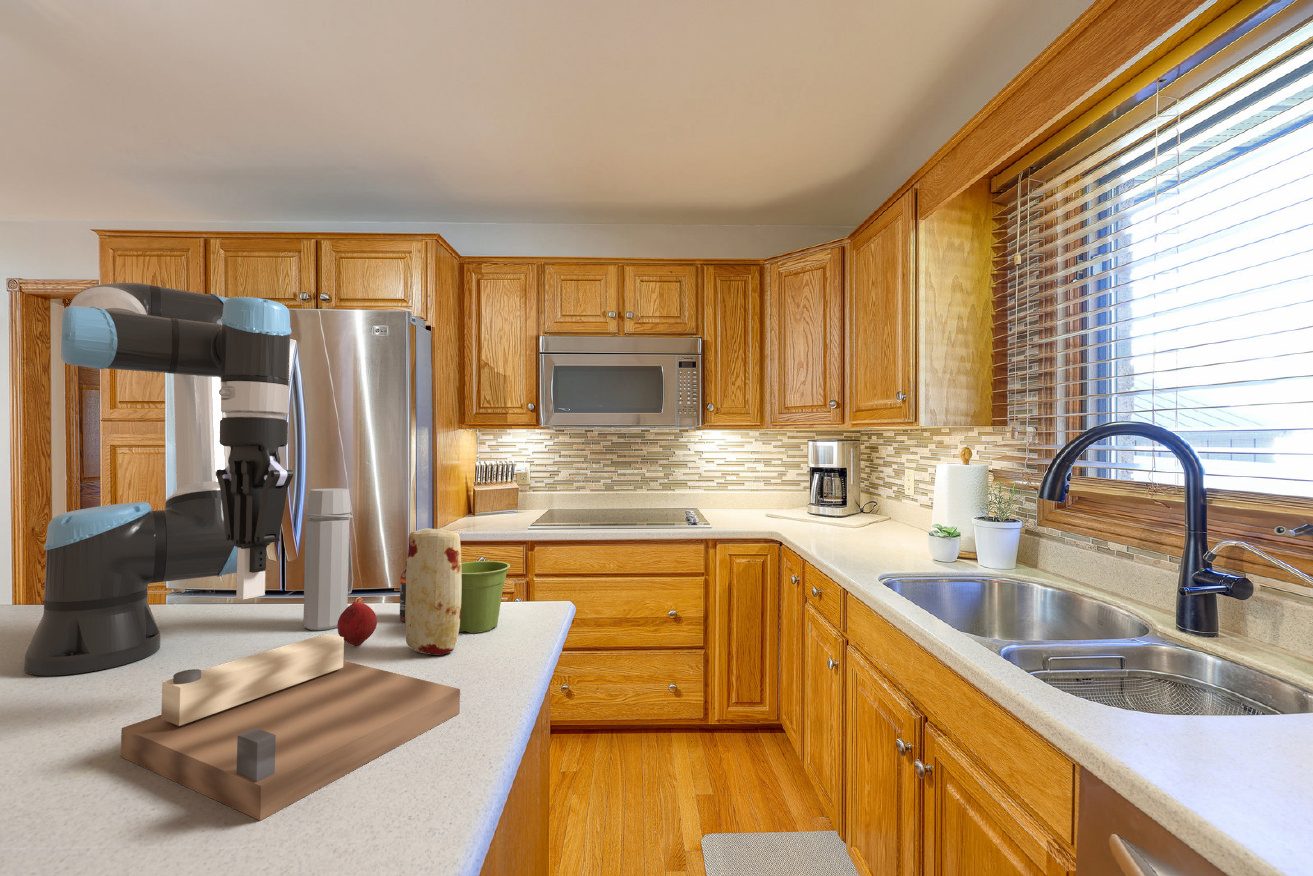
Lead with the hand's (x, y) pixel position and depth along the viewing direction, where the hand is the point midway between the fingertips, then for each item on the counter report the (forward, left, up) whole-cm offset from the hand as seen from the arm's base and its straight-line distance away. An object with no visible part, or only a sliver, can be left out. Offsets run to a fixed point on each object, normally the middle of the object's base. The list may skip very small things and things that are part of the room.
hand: (250, 596), depth 78 cm
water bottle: (-20, +26, -13) cm, 36 cm away
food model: (+8, +24, -13) cm, 29 cm away
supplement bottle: (-9, +36, -13) cm, 40 cm away
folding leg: (+8, -3, -10) cm, 13 cm away
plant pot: (+5, +37, -13) cm, 40 cm away
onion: (-5, +20, -13) cm, 25 cm away
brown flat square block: (+16, -3, -13) cm, 21 cm away
